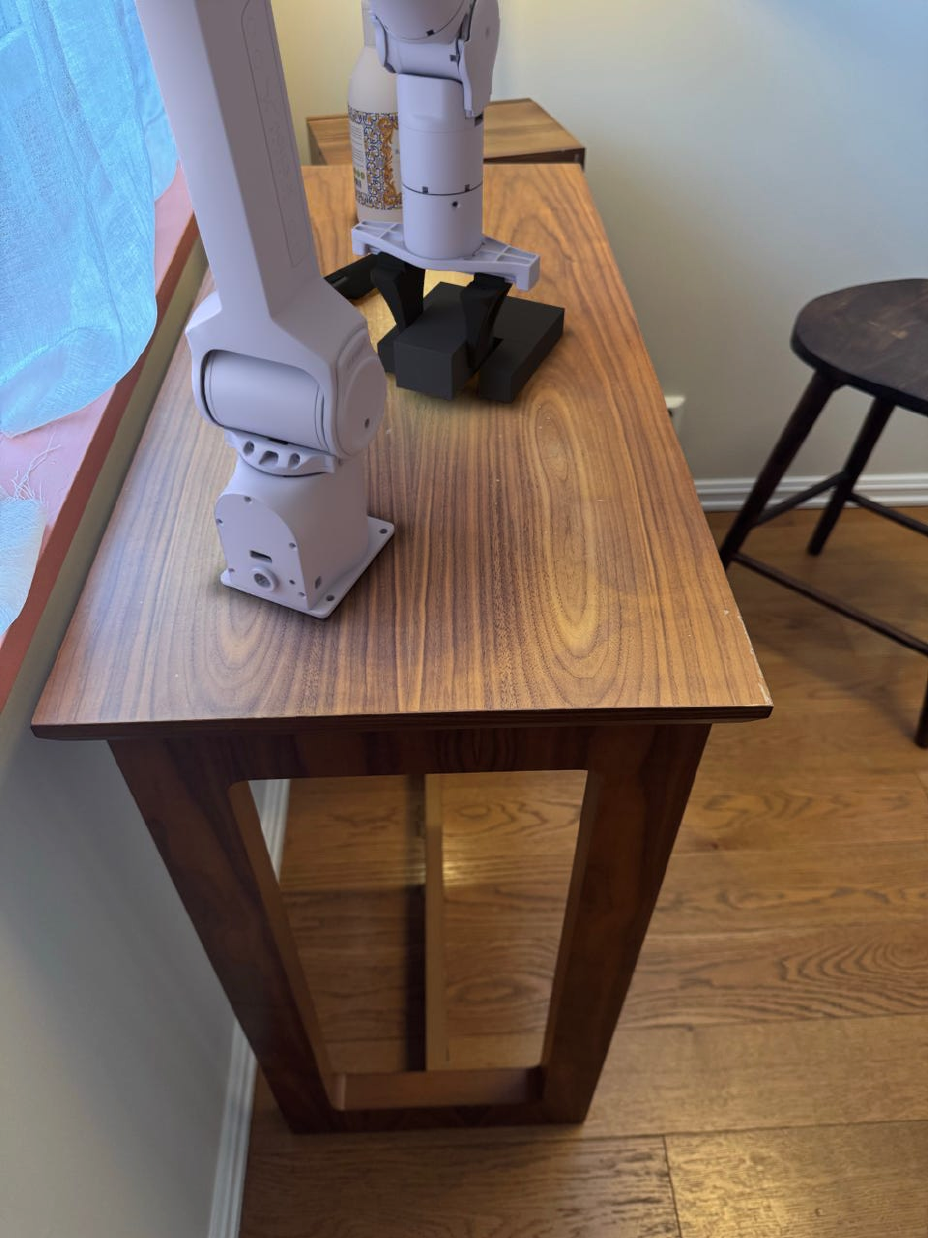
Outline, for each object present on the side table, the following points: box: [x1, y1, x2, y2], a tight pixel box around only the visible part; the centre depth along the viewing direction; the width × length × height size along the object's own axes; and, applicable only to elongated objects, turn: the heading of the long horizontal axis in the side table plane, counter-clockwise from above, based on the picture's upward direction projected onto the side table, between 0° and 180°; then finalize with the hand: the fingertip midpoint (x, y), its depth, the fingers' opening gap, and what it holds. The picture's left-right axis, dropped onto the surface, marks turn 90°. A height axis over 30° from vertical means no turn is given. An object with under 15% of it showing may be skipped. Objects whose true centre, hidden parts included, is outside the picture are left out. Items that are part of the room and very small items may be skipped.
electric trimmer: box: [322, 253, 378, 301], centre depth 83 cm, size 4×16×3 cm, turn 143°
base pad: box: [376, 280, 566, 404], centre depth 78 cm, size 12×12×2 cm
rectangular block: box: [393, 296, 494, 402], centre depth 73 cm, size 8×5×4 cm, turn 155°
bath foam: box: [346, 0, 403, 223], centre depth 90 cm, size 7×7×20 cm
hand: (445, 354), depth 73 cm, fingers closed on rectangular block, 5 cm apart
